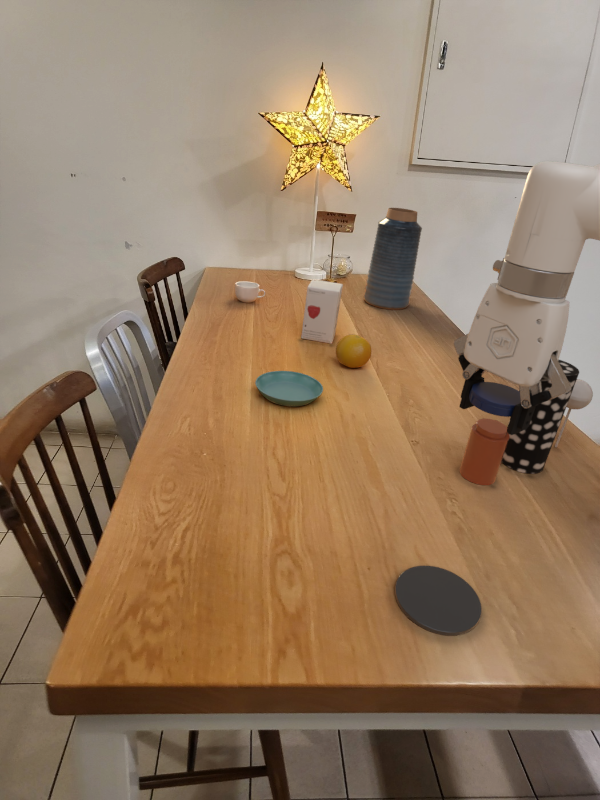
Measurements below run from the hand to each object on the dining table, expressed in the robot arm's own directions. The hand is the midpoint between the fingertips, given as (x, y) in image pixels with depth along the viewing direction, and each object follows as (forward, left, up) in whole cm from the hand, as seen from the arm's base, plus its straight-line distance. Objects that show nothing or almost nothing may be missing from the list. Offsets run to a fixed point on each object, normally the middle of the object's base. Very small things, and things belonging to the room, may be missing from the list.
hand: (491, 417), depth 69 cm
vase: (+7, -125, -22) cm, 128 cm away
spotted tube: (-17, -28, -22) cm, 40 cm away
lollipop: (-26, -36, -22) cm, 50 cm away
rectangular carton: (+27, -81, -22) cm, 89 cm away
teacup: (+52, -105, -22) cm, 120 cm away
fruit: (+17, -63, -22) cm, 69 cm away
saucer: (+30, -41, -22) cm, 56 cm away
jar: (-7, -21, -22) cm, 31 cm away
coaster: (+3, +11, -22) cm, 24 cm away
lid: (0, 0, +3) cm, 3 cm away
